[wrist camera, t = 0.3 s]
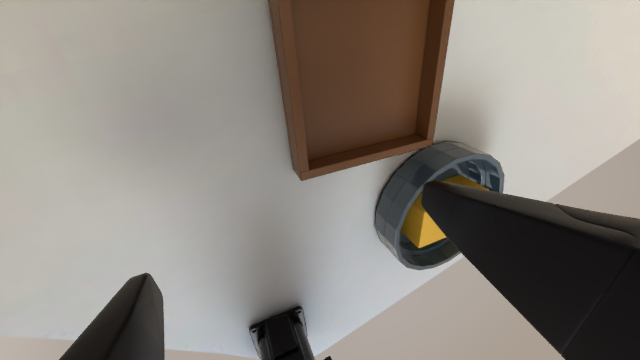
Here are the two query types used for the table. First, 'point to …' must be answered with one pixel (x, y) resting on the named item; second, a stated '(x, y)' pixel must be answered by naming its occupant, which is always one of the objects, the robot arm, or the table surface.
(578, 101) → the table surface
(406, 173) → the bowl
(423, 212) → the block
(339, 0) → the tray
